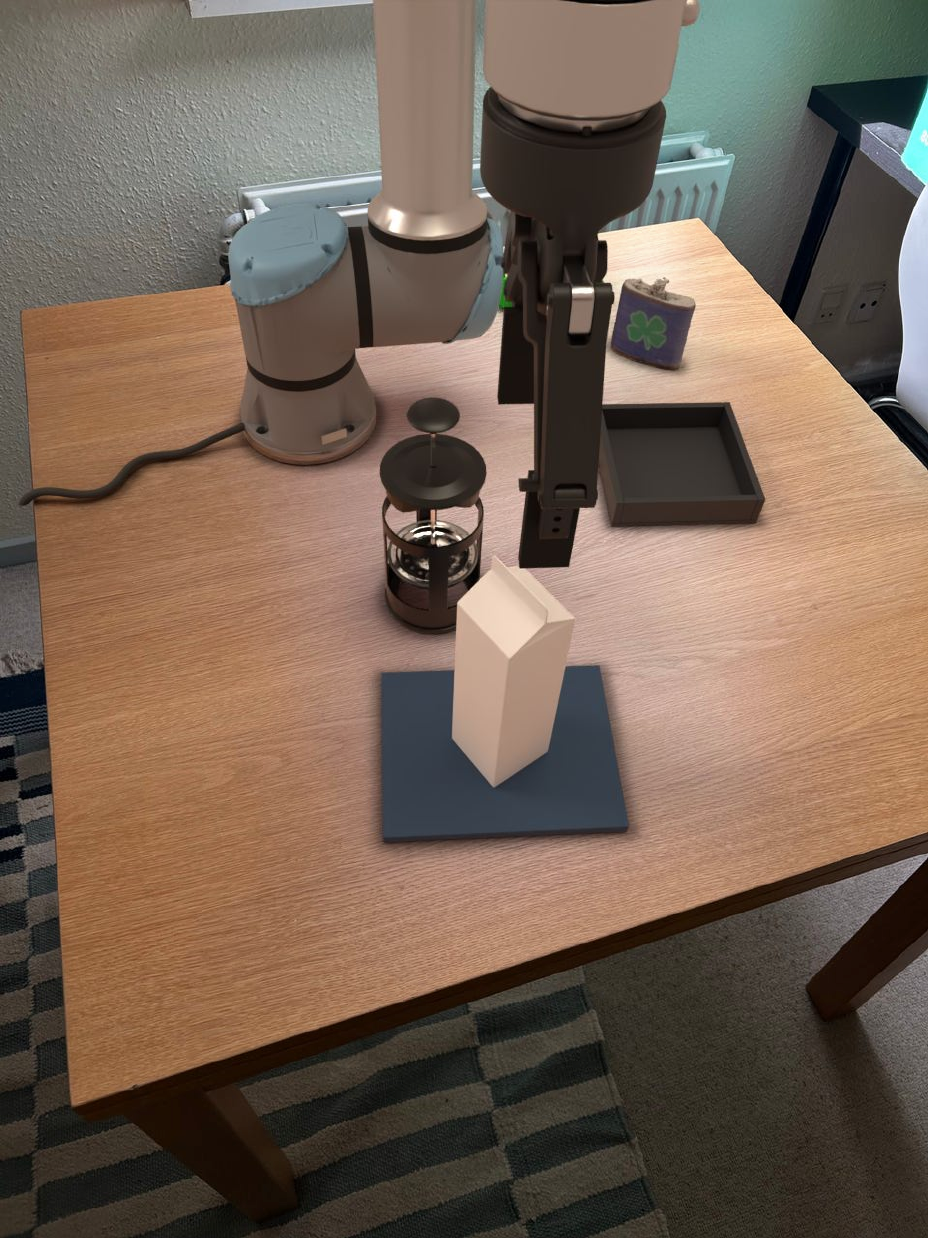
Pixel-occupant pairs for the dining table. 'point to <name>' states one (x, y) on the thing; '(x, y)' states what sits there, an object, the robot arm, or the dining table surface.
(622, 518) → the tray
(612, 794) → the mat
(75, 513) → the dining table surface
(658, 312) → the flask
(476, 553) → the french press
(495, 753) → the milk
